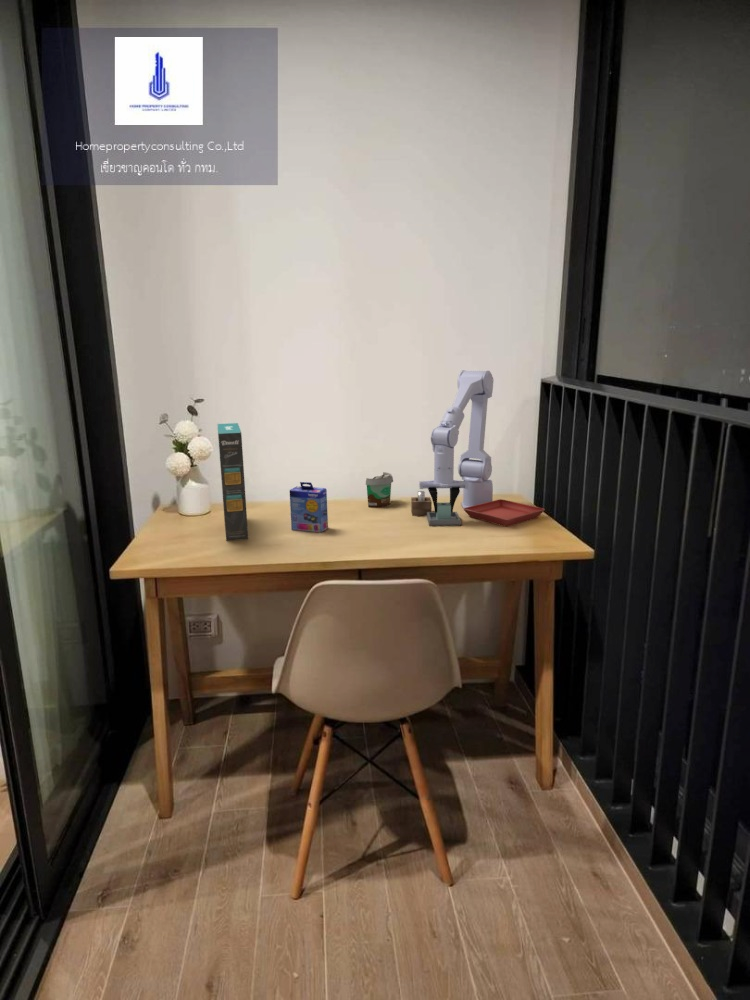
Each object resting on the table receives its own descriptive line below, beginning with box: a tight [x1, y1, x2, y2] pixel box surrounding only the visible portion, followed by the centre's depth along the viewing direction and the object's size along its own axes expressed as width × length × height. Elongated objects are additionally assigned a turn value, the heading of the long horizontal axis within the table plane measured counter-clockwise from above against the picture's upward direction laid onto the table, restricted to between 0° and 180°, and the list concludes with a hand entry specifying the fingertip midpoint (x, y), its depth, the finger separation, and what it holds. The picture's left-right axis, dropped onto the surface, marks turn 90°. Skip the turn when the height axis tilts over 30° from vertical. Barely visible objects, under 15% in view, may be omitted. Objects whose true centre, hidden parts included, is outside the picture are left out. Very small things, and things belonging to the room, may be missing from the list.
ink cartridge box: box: [289, 481, 329, 533], centre depth 186 cm, size 10×6×14 cm, turn 72°
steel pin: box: [417, 490, 426, 501], centre depth 202 cm, size 2×2×7 cm
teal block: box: [436, 501, 451, 520], centre depth 193 cm, size 4×4×5 cm
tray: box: [426, 511, 462, 527], centre depth 193 cm, size 9×9×2 cm
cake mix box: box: [216, 422, 249, 542], centre depth 185 cm, size 22×6×30 cm, turn 14°
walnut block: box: [410, 496, 433, 517], centre depth 203 cm, size 6×6×4 cm
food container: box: [365, 471, 394, 509], centre depth 213 cm, size 12×6×10 cm, turn 150°
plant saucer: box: [462, 498, 545, 528], centre depth 197 cm, size 18×18×3 cm
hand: (443, 511), depth 193 cm, fingers closed on teal block, 4 cm apart
